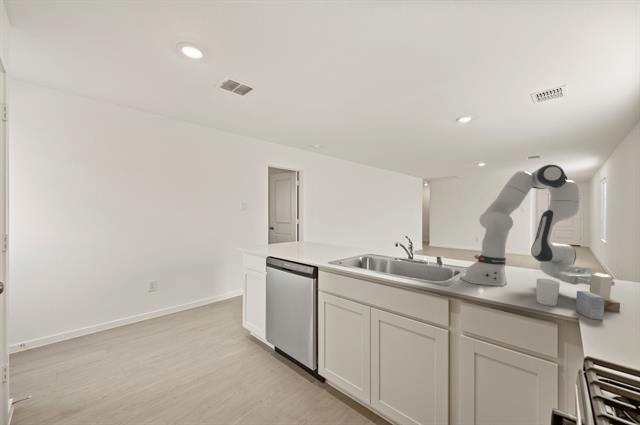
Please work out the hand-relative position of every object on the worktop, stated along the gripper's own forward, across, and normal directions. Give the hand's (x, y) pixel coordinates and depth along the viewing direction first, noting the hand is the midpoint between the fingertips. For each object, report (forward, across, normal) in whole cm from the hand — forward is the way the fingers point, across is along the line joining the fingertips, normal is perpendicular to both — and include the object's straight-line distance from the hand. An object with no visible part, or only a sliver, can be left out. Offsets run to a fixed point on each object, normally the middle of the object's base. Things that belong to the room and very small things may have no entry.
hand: (601, 283), depth 116 cm
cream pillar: (-1, 0, +7) cm, 7 cm away
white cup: (-3, -20, +11) cm, 23 cm away
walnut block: (-1, 0, +11) cm, 11 cm away
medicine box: (+9, -13, +11) cm, 19 cm away
